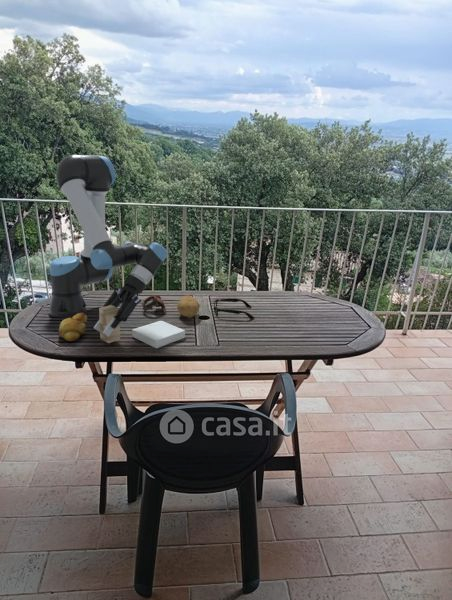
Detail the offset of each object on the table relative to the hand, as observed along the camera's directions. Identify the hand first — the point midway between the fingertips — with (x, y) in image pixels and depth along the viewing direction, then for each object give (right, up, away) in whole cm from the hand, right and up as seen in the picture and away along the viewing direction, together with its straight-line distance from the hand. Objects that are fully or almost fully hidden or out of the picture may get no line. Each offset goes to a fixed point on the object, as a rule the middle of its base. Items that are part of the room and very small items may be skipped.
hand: (101, 332), depth 150 cm
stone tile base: (+19, -3, +11) cm, 22 cm away
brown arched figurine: (+13, +6, +38) cm, 41 cm away
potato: (+28, +4, +34) cm, 44 cm away
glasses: (+48, +5, +41) cm, 63 cm away
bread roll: (-13, -3, +8) cm, 16 cm away
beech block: (+2, -3, +4) cm, 5 cm away
